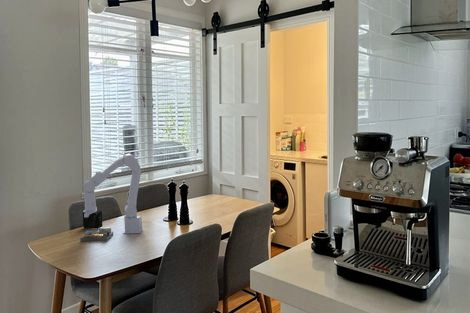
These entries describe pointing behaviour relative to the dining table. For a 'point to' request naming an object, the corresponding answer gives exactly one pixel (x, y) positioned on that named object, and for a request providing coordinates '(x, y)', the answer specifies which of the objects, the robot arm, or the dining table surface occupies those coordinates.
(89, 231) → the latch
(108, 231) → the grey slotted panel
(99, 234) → the strap
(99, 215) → the electronic device
